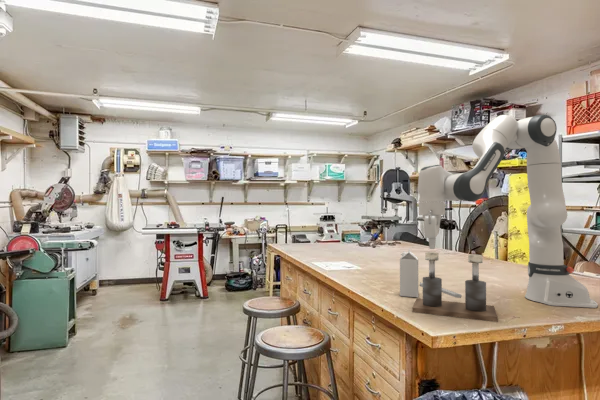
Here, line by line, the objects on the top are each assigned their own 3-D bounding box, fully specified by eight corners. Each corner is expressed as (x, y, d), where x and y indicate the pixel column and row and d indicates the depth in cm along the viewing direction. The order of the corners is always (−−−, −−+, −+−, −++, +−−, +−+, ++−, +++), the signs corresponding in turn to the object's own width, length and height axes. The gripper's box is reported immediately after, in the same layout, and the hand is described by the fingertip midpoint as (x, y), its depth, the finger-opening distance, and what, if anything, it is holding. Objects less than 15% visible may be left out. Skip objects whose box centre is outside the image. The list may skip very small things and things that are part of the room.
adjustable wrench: (463, 299, 144) (463, 294, 144) (448, 299, 143) (448, 295, 143) (429, 284, 169) (429, 281, 169) (416, 285, 168) (416, 281, 168)
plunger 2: (482, 280, 124) (482, 254, 124) (483, 282, 120) (482, 256, 120) (468, 279, 126) (468, 254, 126) (468, 281, 122) (468, 255, 122)
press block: (493, 310, 127) (493, 279, 127) (497, 321, 114) (497, 287, 114) (416, 302, 138) (416, 273, 138) (412, 311, 125) (412, 280, 125)
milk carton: (418, 293, 150) (418, 248, 151) (418, 297, 144) (418, 250, 144) (400, 292, 153) (400, 247, 153) (399, 296, 146) (399, 249, 146)
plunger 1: (438, 276, 130) (438, 252, 130) (438, 279, 126) (438, 254, 126) (426, 275, 132) (425, 252, 132) (425, 278, 128) (424, 253, 128)
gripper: (439, 210, 118) (440, 252, 118) (442, 209, 137) (442, 246, 137) (419, 210, 121) (420, 251, 121) (424, 209, 140) (425, 245, 139)
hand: (432, 248), depth 129 cm, fingers closed
